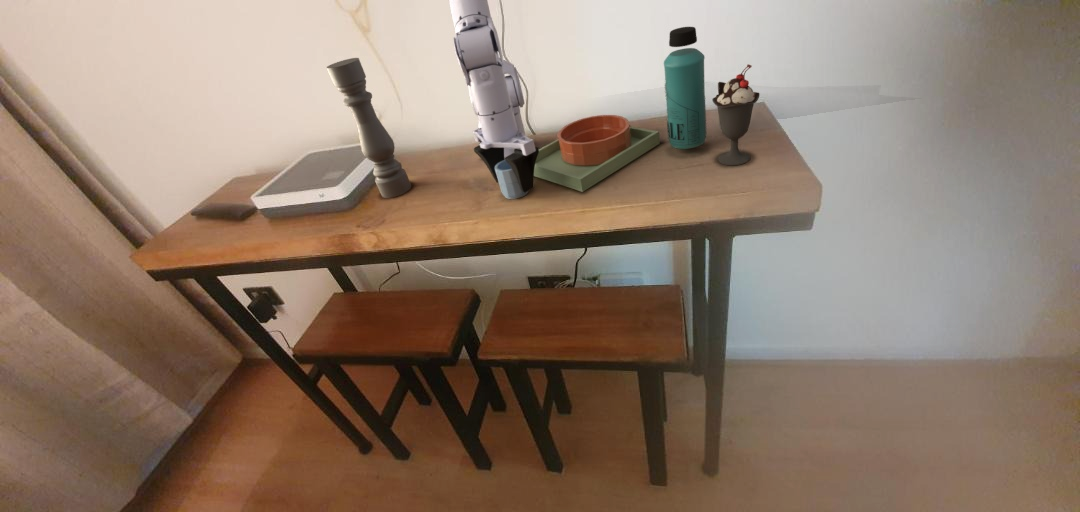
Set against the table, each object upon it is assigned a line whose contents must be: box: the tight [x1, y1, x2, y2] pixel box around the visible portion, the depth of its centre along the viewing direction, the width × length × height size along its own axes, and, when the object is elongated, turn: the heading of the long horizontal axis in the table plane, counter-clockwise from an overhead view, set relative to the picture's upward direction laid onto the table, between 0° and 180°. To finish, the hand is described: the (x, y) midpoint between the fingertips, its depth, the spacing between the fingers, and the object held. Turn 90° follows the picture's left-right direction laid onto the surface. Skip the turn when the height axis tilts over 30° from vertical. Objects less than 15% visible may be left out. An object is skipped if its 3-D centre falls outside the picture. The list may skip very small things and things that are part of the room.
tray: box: [534, 126, 661, 193], centre depth 90 cm, size 17×20×2 cm
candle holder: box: [326, 57, 412, 199], centre depth 90 cm, size 6×6×25 cm
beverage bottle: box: [663, 26, 708, 150], centre depth 79 cm, size 6×7×20 cm
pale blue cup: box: [495, 160, 530, 200], centre depth 83 cm, size 5×5×6 cm
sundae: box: [711, 64, 761, 166], centre depth 74 cm, size 7×7×15 cm
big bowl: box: [557, 114, 632, 166], centre depth 90 cm, size 13×13×5 cm
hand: (514, 184), depth 84 cm, fingers open, 7 cm apart
